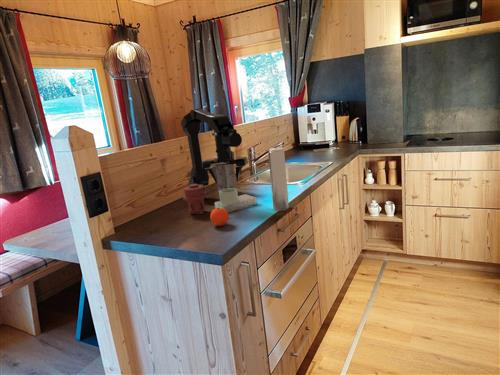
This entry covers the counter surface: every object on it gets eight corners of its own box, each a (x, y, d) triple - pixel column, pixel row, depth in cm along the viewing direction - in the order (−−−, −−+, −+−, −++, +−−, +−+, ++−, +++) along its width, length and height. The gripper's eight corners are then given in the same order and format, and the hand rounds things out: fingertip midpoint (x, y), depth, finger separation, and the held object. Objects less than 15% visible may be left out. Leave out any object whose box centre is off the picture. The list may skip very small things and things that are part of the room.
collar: (218, 204, 153) (216, 193, 152) (223, 199, 160) (222, 188, 159) (235, 203, 151) (234, 192, 150) (239, 198, 158) (238, 187, 157)
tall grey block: (279, 205, 153) (274, 147, 147) (292, 207, 149) (287, 147, 143) (270, 209, 148) (264, 149, 142) (283, 211, 144) (277, 149, 138)
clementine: (222, 220, 142) (219, 203, 140) (235, 222, 137) (233, 204, 136) (207, 227, 136) (205, 209, 134) (220, 229, 131) (218, 211, 130)
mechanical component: (210, 213, 152) (187, 217, 149) (207, 207, 161) (184, 211, 159) (206, 185, 149) (182, 189, 146) (203, 180, 158) (180, 184, 156)
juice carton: (228, 194, 179) (223, 150, 174) (218, 193, 183) (213, 150, 178) (237, 191, 184) (232, 148, 179) (227, 190, 188) (222, 148, 183)
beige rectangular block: (215, 209, 158) (213, 194, 156) (246, 200, 166) (244, 186, 164) (225, 213, 150) (223, 198, 149) (256, 204, 158) (255, 189, 157)
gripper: (248, 141, 155) (252, 177, 159) (207, 145, 160) (212, 179, 163) (242, 145, 145) (246, 183, 148) (199, 148, 149) (204, 185, 153)
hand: (227, 182), depth 154 cm, fingers open, 9 cm apart
